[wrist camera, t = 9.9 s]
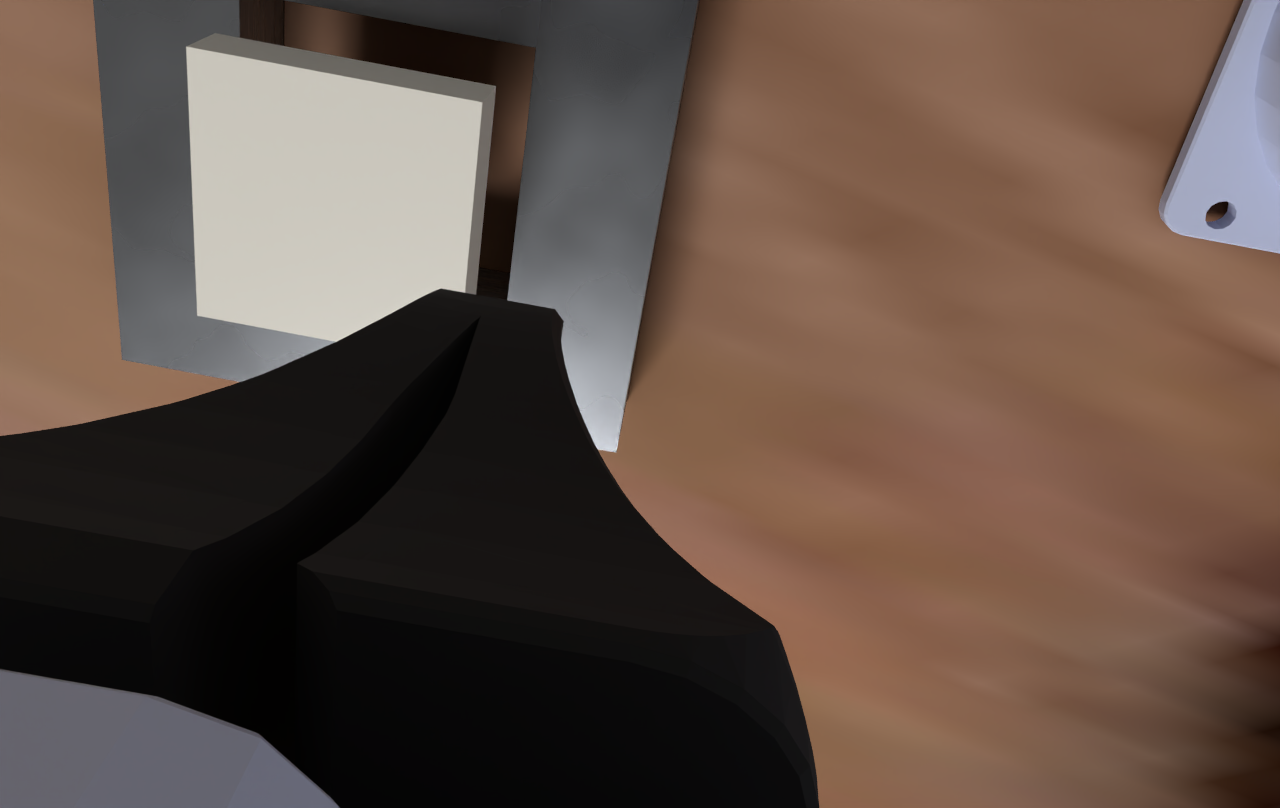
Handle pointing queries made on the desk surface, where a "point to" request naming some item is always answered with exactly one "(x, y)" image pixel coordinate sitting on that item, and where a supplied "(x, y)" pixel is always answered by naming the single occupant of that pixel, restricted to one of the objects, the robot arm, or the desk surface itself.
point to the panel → (549, 192)
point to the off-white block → (330, 185)
